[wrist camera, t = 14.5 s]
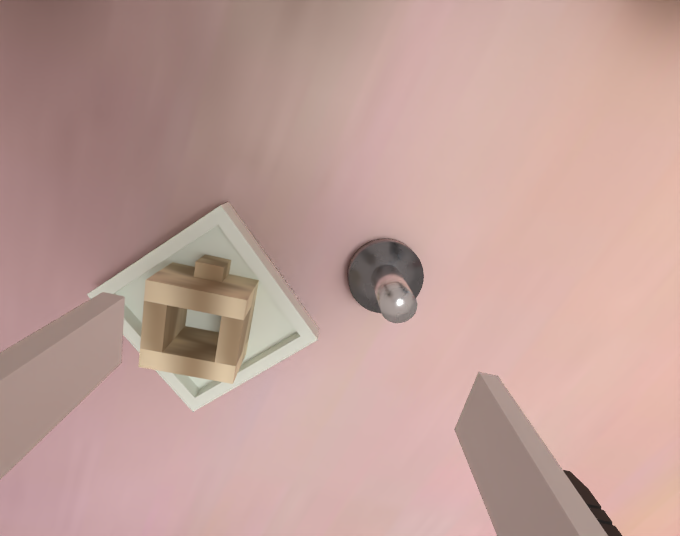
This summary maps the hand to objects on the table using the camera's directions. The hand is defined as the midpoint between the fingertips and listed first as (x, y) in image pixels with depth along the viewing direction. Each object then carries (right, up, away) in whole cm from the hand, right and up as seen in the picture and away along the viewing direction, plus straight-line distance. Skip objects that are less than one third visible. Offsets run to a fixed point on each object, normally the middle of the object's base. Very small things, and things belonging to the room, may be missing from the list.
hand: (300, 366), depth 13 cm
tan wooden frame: (-11, 0, +21) cm, 24 cm away
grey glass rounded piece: (+6, +3, +21) cm, 22 cm away
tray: (-11, 0, +22) cm, 25 cm away
